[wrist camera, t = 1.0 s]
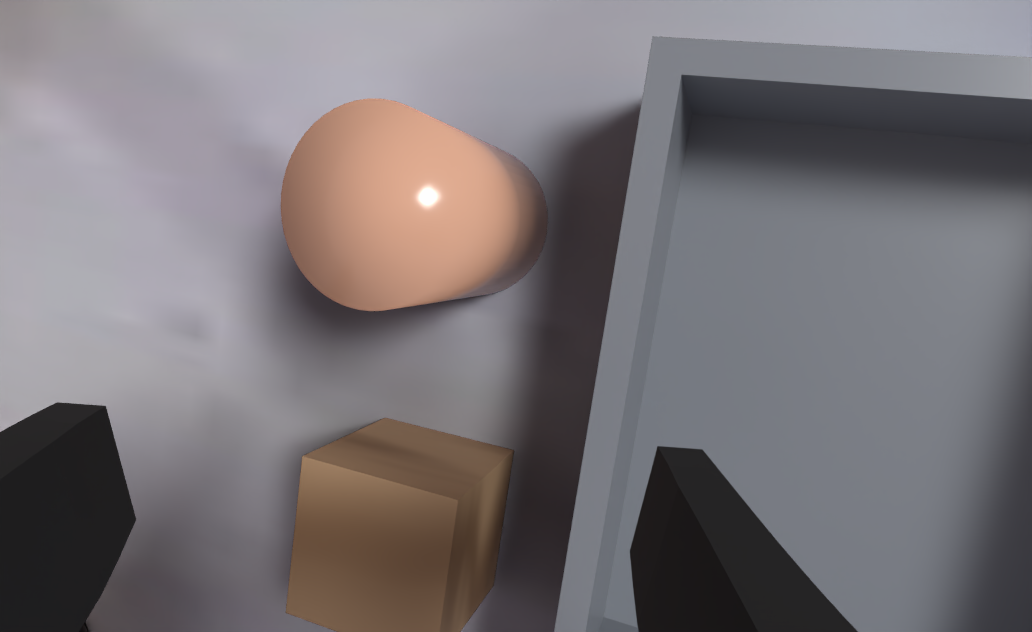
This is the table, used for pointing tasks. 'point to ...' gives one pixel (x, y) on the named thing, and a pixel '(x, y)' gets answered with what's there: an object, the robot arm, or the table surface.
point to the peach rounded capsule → (407, 209)
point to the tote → (826, 326)
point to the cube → (397, 530)
